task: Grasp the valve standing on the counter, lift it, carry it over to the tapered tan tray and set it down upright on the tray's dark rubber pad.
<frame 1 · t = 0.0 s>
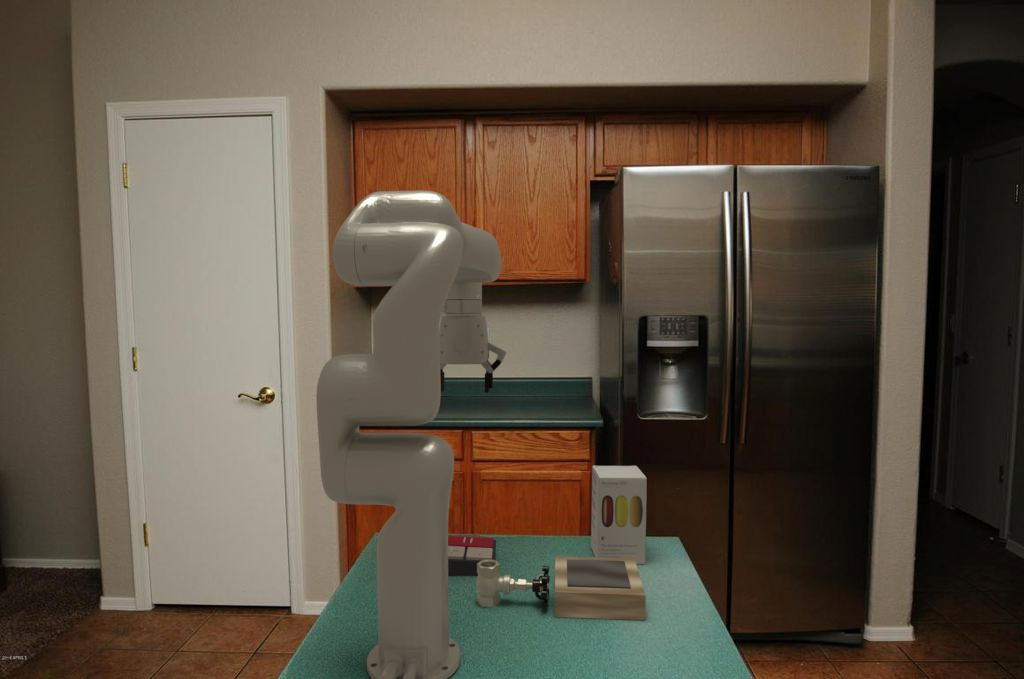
hand: (464, 391, 127), 31 cm above the table, fingers open, 9 cm apart
supplement box: (617, 556, 120), on the table
tapered tan tray: (597, 597, 102), on the table
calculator: (455, 566, 116), on the table
valve: (512, 605, 101), on the table
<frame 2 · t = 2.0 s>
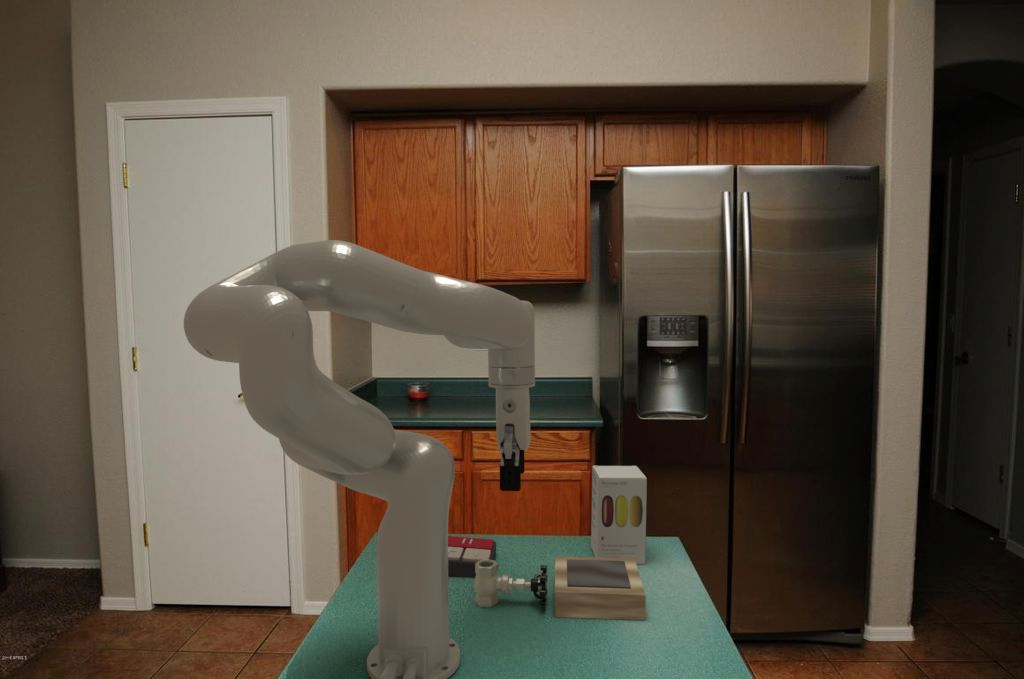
hand: (512, 481, 100), 20 cm above the table, fingers open, 9 cm apart
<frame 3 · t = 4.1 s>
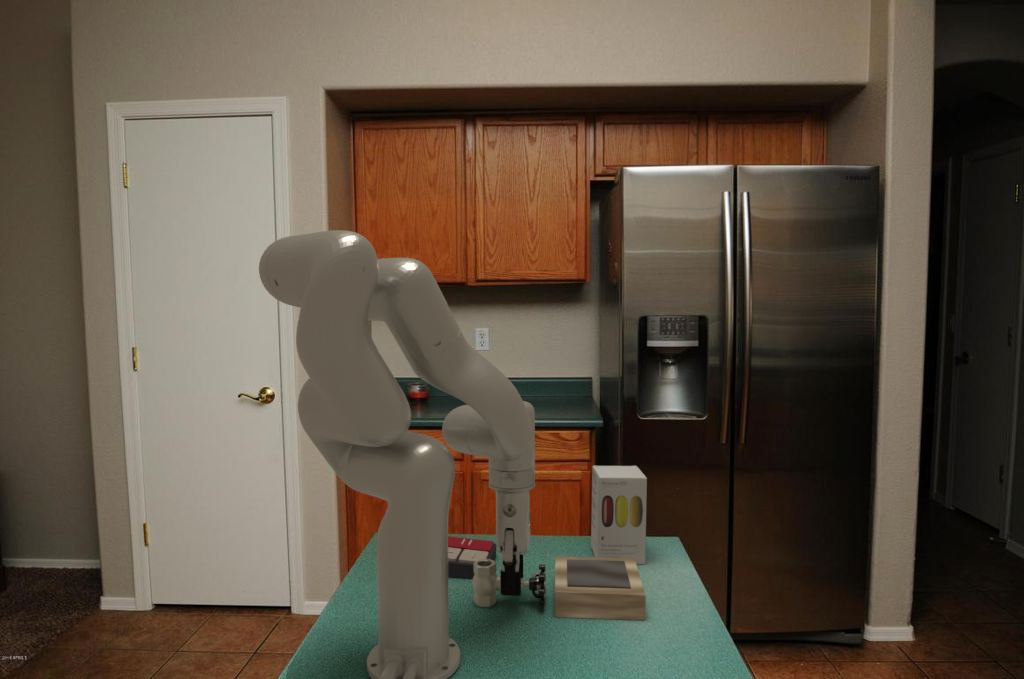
hand: (512, 584, 101), 3 cm above the table, fingers closed on valve, 5 cm apart
valve: (508, 604, 101), on the table, touching gripper
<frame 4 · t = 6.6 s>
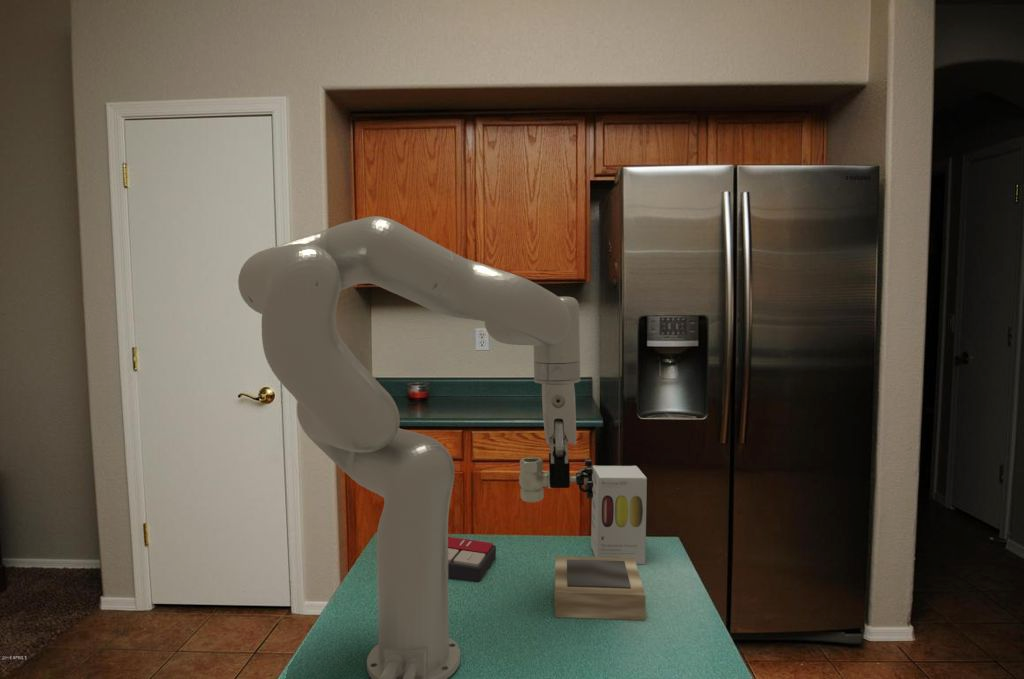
hand: (559, 480, 101), 20 cm above the table, fingers closed on valve, 5 cm apart
valve: (555, 499, 101), point 17 cm above the table, touching gripper
when the fingers open (8 cm above the table, at t = 9.5 s): valve stays where it is, resting on tapered tan tray.
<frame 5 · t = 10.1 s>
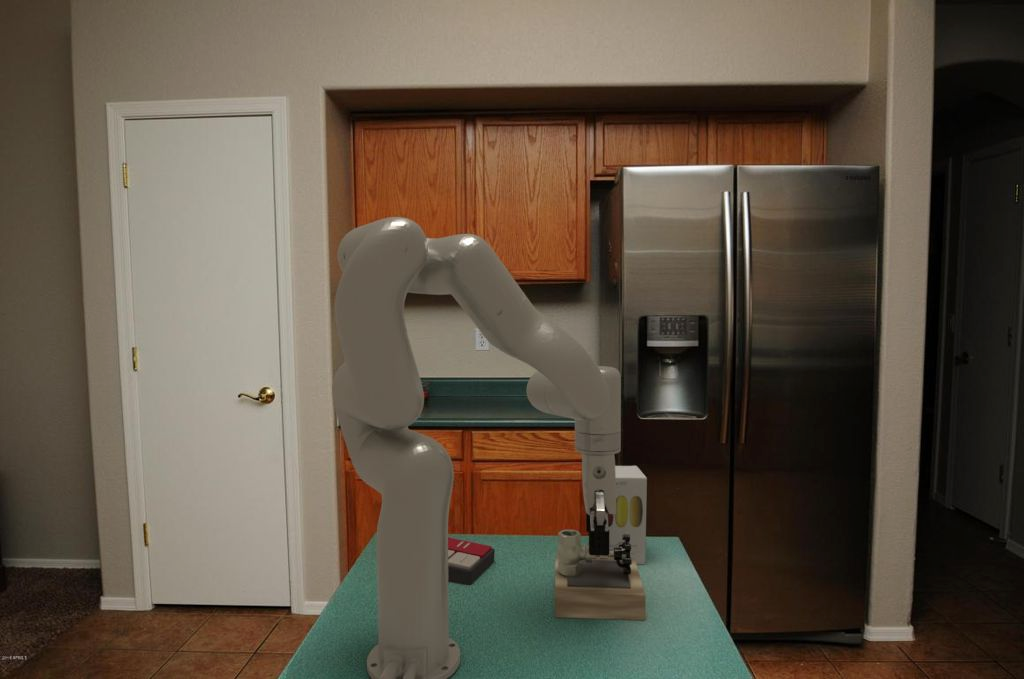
hand: (597, 543, 102), 9 cm above the table, fingers open, 9 cm apart
valve: (593, 573, 102), point 4 cm above the table, touching tapered tan tray
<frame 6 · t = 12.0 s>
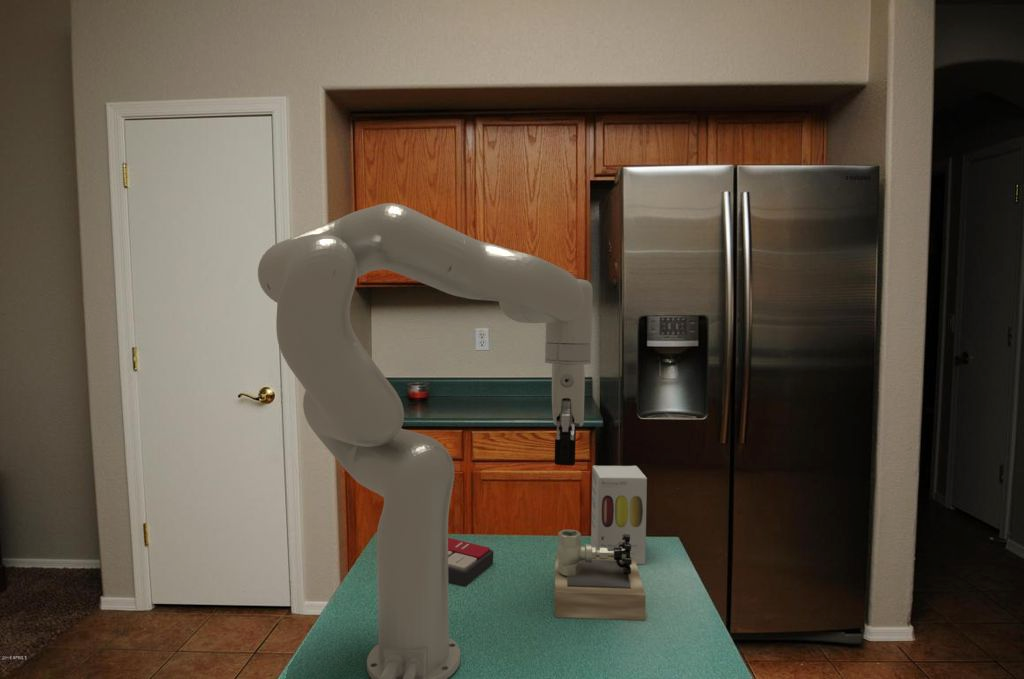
hand: (565, 458, 101), 24 cm above the table, fingers open, 9 cm apart
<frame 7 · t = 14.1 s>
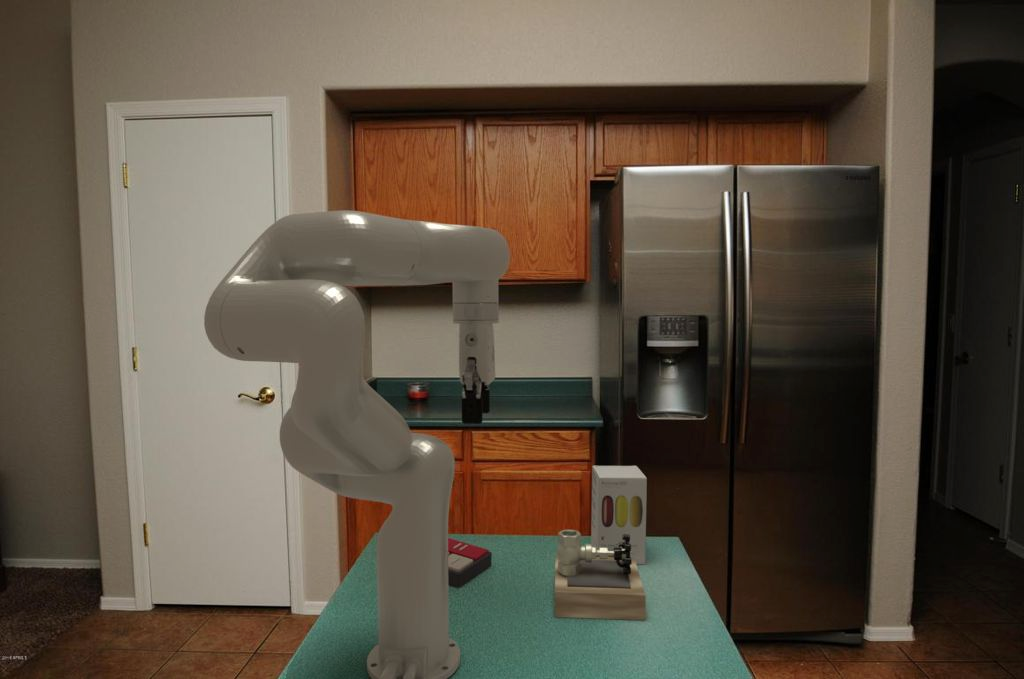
hand: (476, 417, 102), 30 cm above the table, fingers open, 9 cm apart
at the end: valve inside the target area on the tapered tan tray (0.7 cm from its centre), point 4.1 cm above the tapered tan tray's base; the gripper is holding nothing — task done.
